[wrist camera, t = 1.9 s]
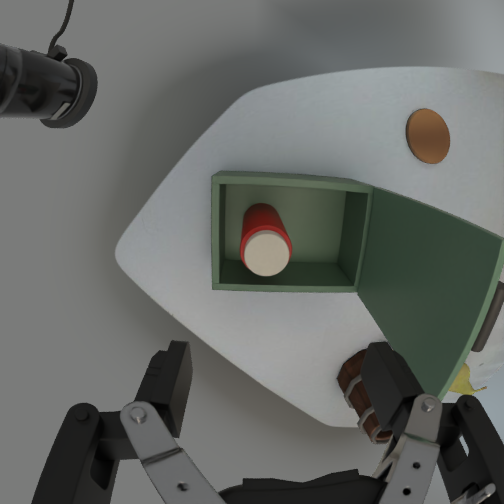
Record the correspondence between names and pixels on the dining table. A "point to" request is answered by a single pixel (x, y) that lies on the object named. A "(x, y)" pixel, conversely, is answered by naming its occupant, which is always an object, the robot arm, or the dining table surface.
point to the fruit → (463, 382)
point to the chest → (293, 230)
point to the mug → (361, 399)
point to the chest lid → (431, 285)
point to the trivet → (428, 136)
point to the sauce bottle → (264, 240)
